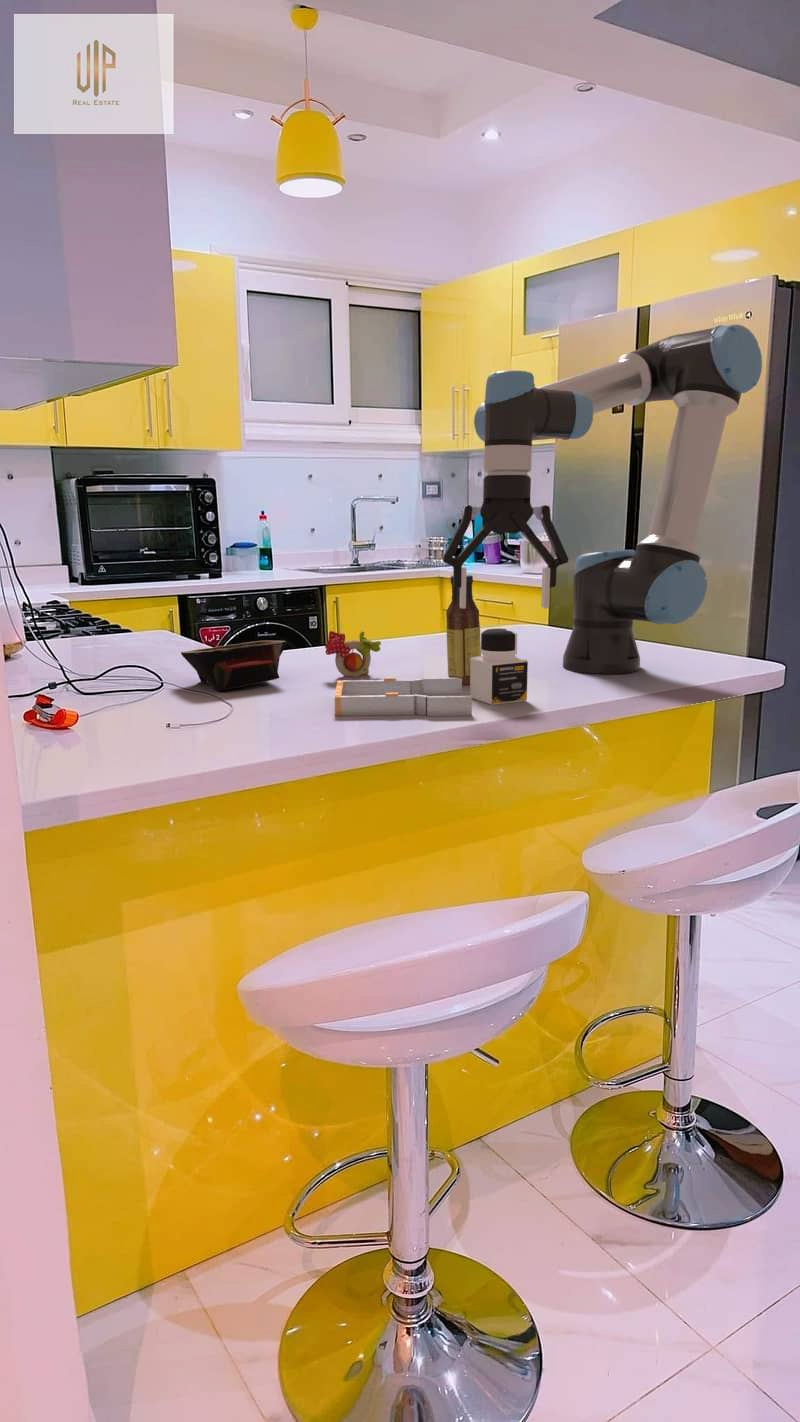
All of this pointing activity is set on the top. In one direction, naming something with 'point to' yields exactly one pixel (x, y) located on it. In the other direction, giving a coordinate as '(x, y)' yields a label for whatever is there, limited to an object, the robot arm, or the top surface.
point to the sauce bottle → (462, 633)
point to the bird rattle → (351, 661)
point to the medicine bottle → (498, 669)
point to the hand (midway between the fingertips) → (503, 607)
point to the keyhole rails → (402, 697)
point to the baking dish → (237, 663)
